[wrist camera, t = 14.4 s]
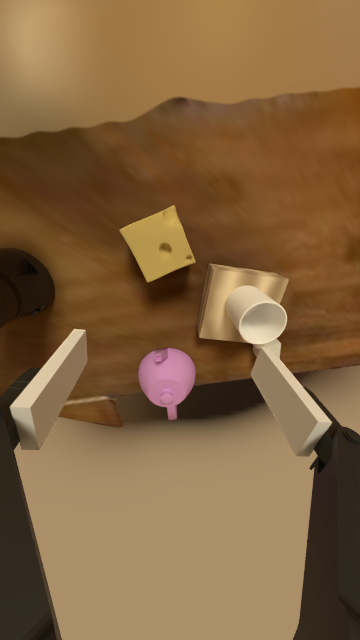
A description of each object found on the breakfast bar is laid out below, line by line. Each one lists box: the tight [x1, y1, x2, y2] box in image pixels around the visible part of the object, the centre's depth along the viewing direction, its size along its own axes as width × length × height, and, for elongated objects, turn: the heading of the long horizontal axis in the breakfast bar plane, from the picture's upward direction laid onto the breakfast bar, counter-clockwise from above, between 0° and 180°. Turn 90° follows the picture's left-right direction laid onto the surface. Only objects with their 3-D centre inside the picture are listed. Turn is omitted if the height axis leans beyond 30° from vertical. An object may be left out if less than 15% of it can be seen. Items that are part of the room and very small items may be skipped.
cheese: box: [120, 206, 195, 282], centre depth 40 cm, size 10×11×10 cm
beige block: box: [253, 339, 281, 358], centre depth 54 cm, size 5×5×5 cm
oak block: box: [197, 264, 289, 343], centre depth 48 cm, size 16×16×6 cm
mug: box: [226, 285, 287, 349], centre depth 41 cm, size 12×8×10 cm
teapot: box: [138, 348, 196, 420], centre depth 53 cm, size 22×16×12 cm
